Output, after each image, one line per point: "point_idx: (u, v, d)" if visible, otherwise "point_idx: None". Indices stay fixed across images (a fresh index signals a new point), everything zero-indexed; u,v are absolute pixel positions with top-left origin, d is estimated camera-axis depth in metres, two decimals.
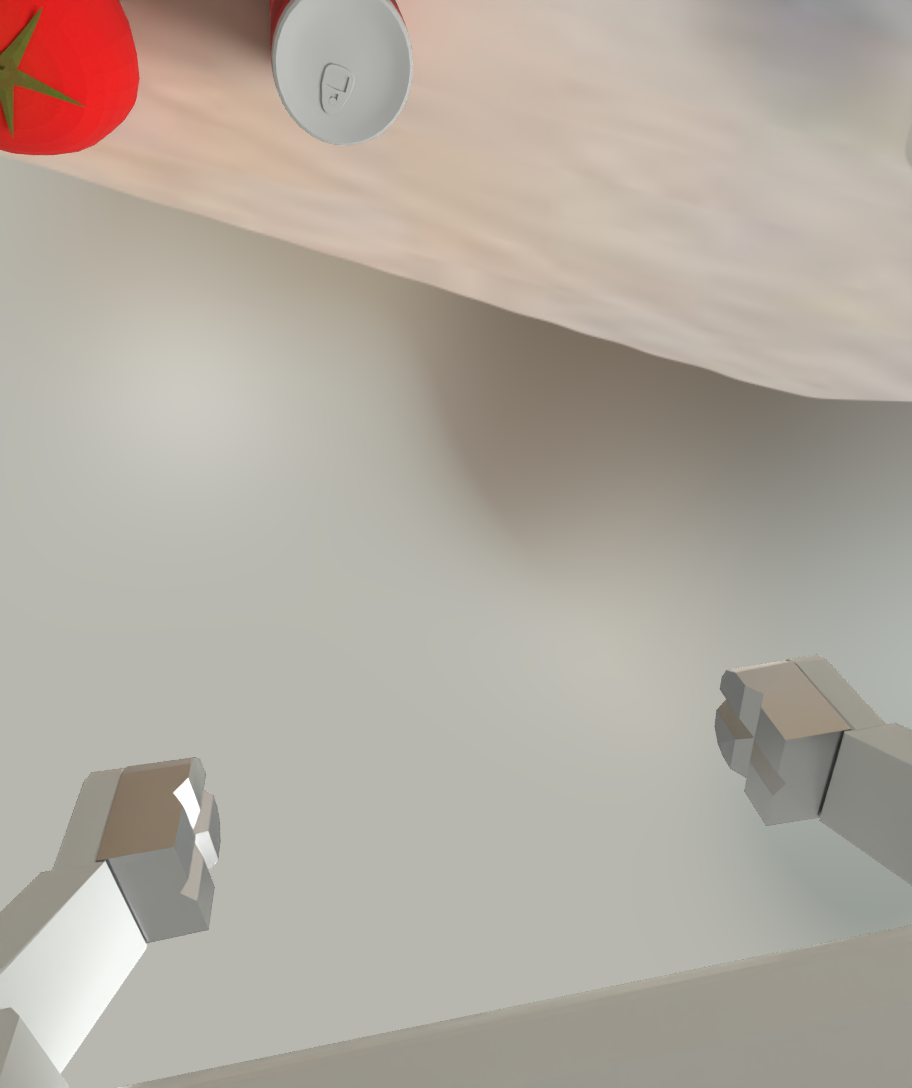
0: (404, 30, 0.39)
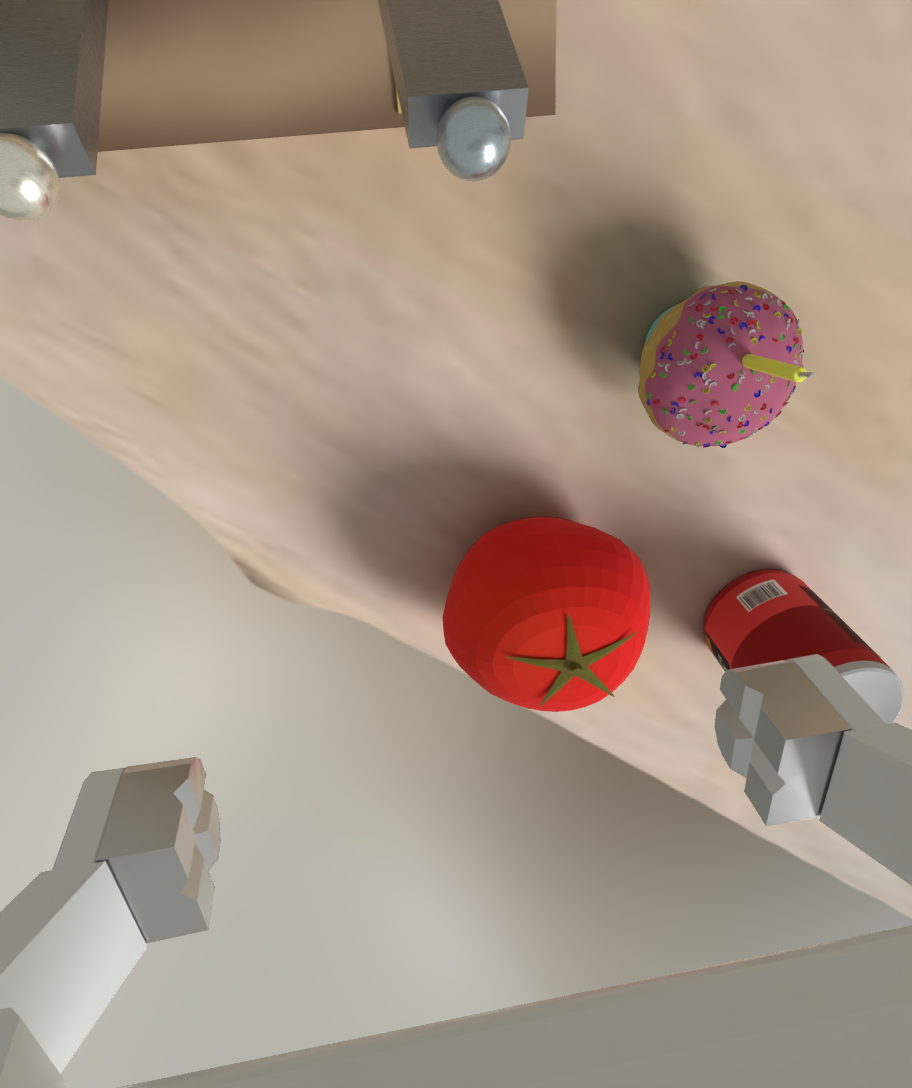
0: (902, 704, 0.44)
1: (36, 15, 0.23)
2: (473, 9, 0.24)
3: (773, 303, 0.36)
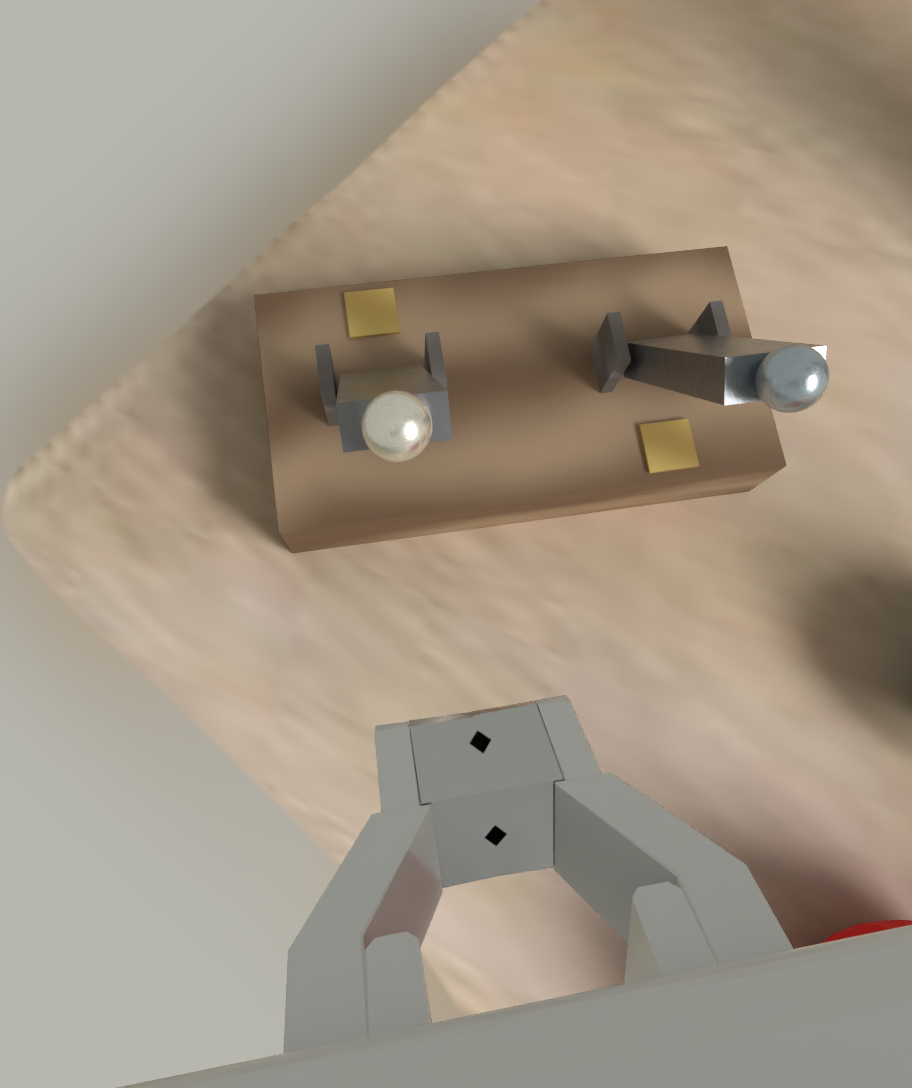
0: None
1: (395, 378, 0.29)
2: (739, 342, 0.29)
3: None
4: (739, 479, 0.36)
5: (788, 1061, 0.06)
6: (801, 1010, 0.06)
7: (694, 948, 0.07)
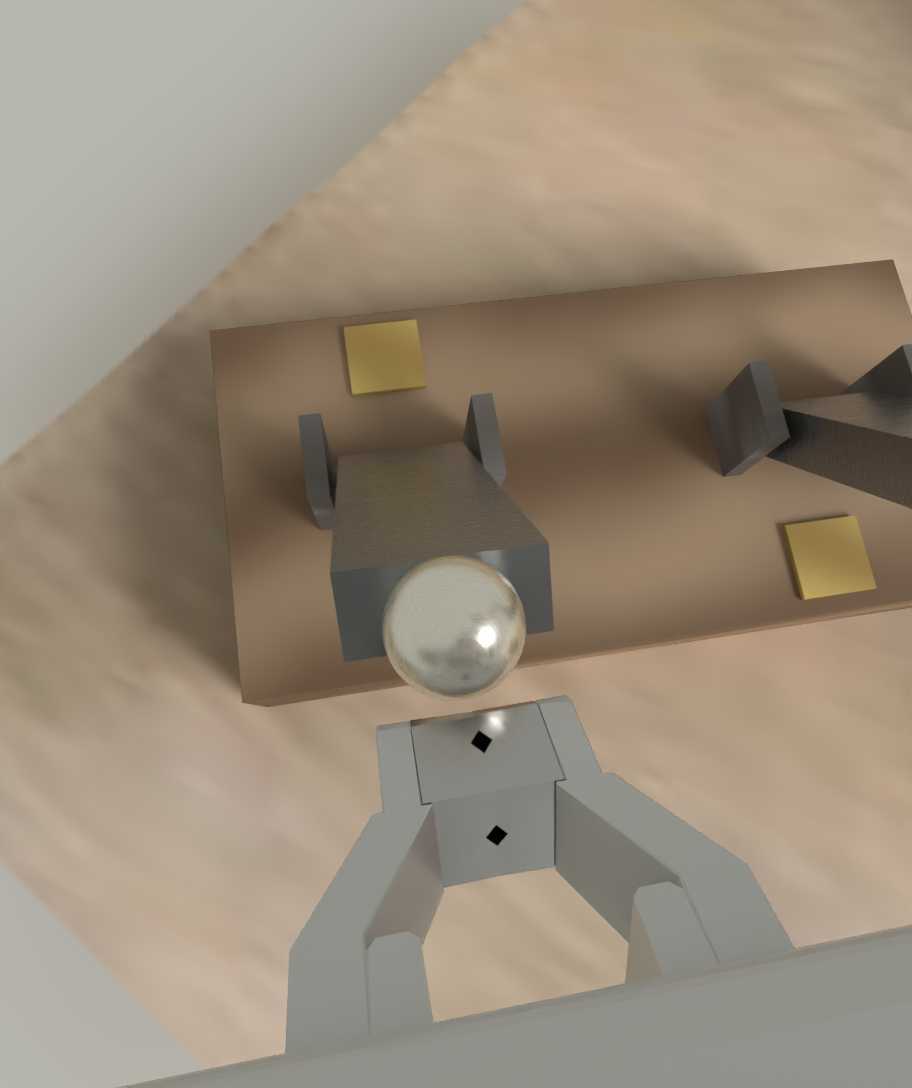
0: None
1: (430, 480, 0.17)
2: None
3: None
4: None
5: (788, 1061, 0.06)
6: (801, 1010, 0.06)
7: (695, 948, 0.07)
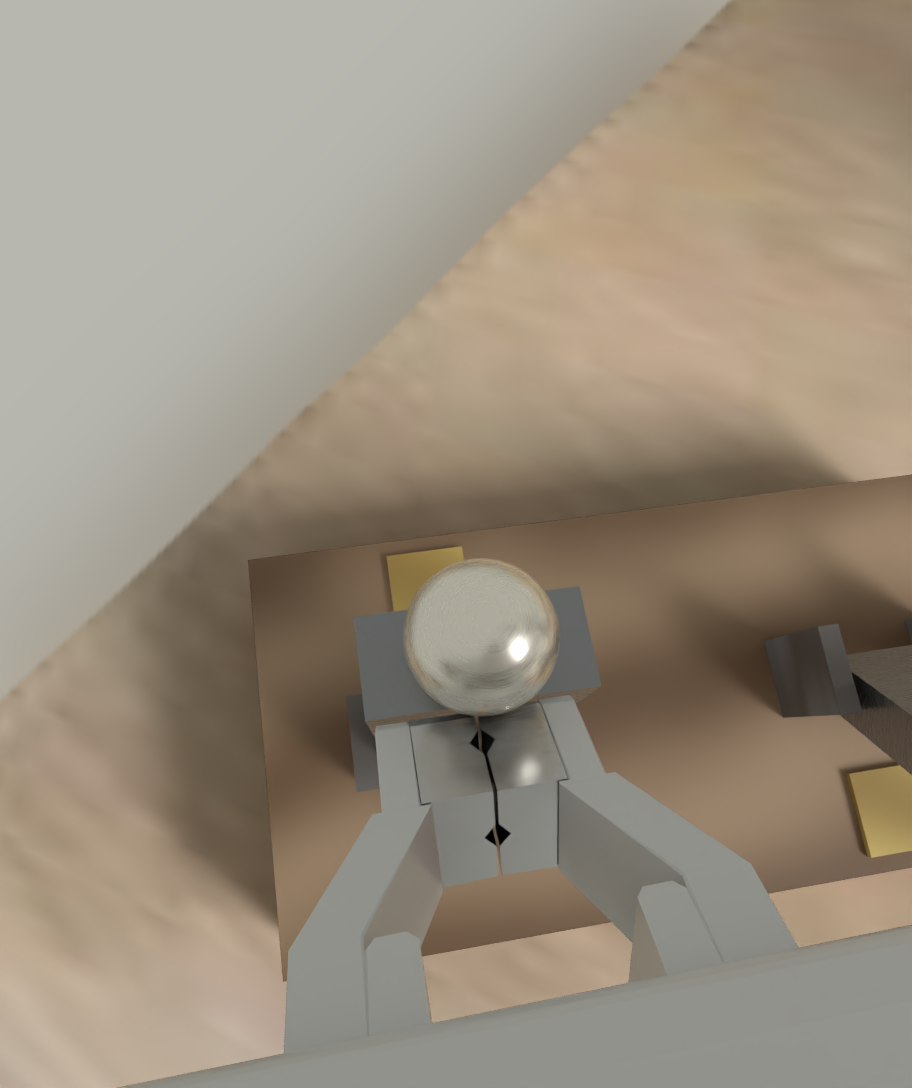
0: None
1: None
2: None
3: None
4: None
5: (788, 1061, 0.06)
6: (801, 1010, 0.06)
7: (699, 947, 0.07)
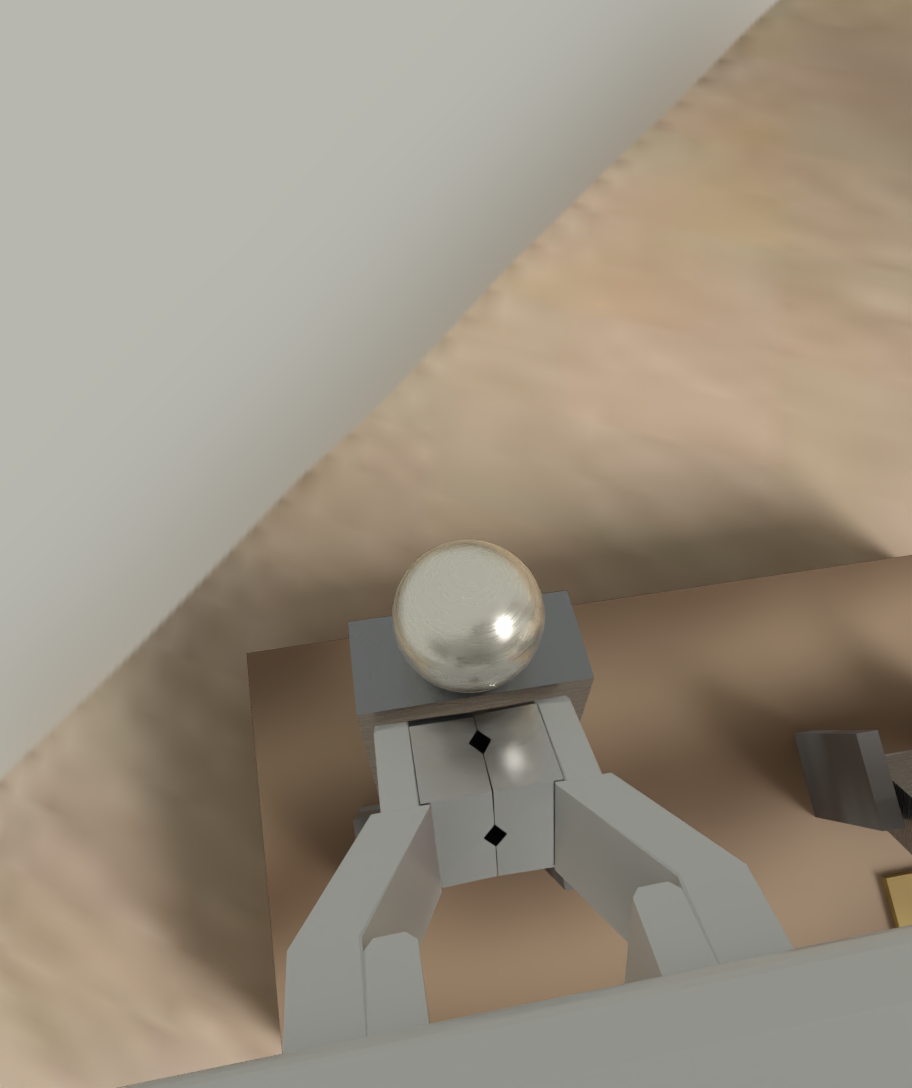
0: None
1: None
2: None
3: None
4: None
5: (788, 1061, 0.06)
6: (801, 1010, 0.06)
7: (694, 948, 0.07)
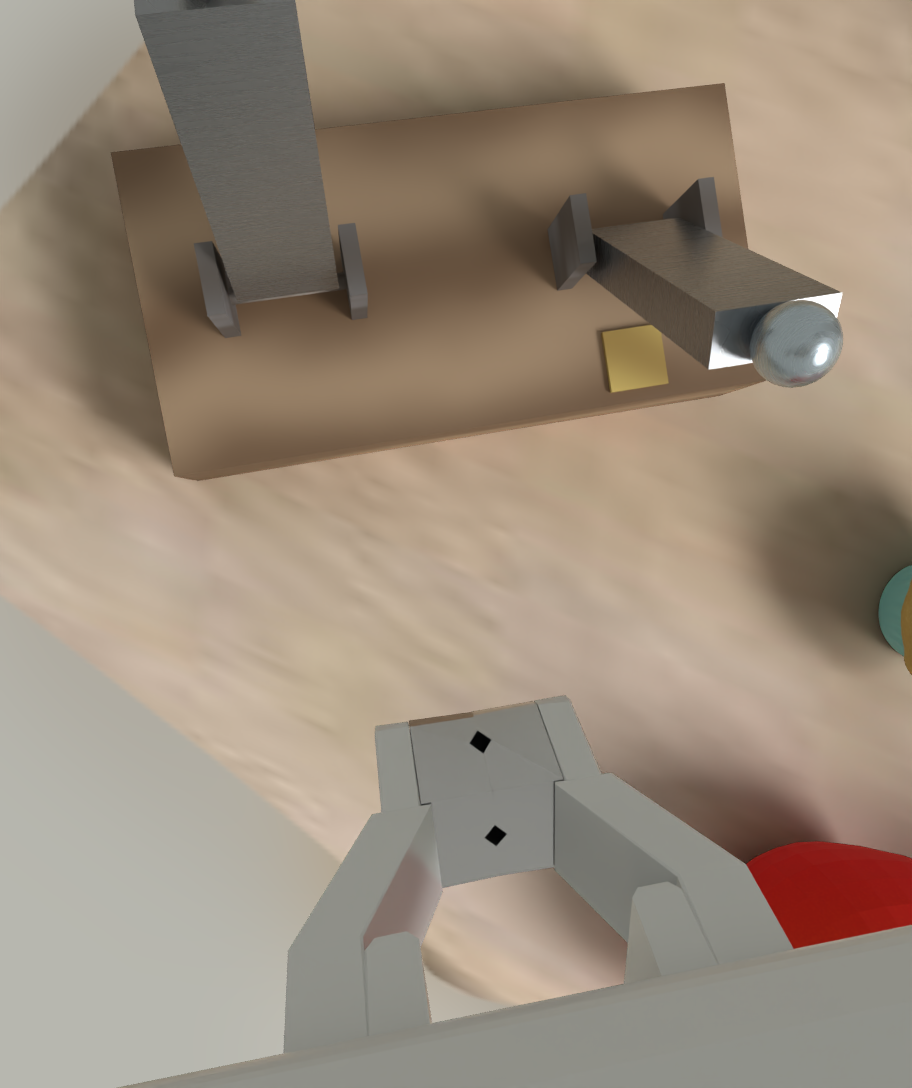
0: None
1: None
2: (732, 258, 0.23)
3: None
4: (712, 391, 0.32)
5: (788, 1061, 0.06)
6: (801, 1010, 0.06)
7: (694, 948, 0.07)
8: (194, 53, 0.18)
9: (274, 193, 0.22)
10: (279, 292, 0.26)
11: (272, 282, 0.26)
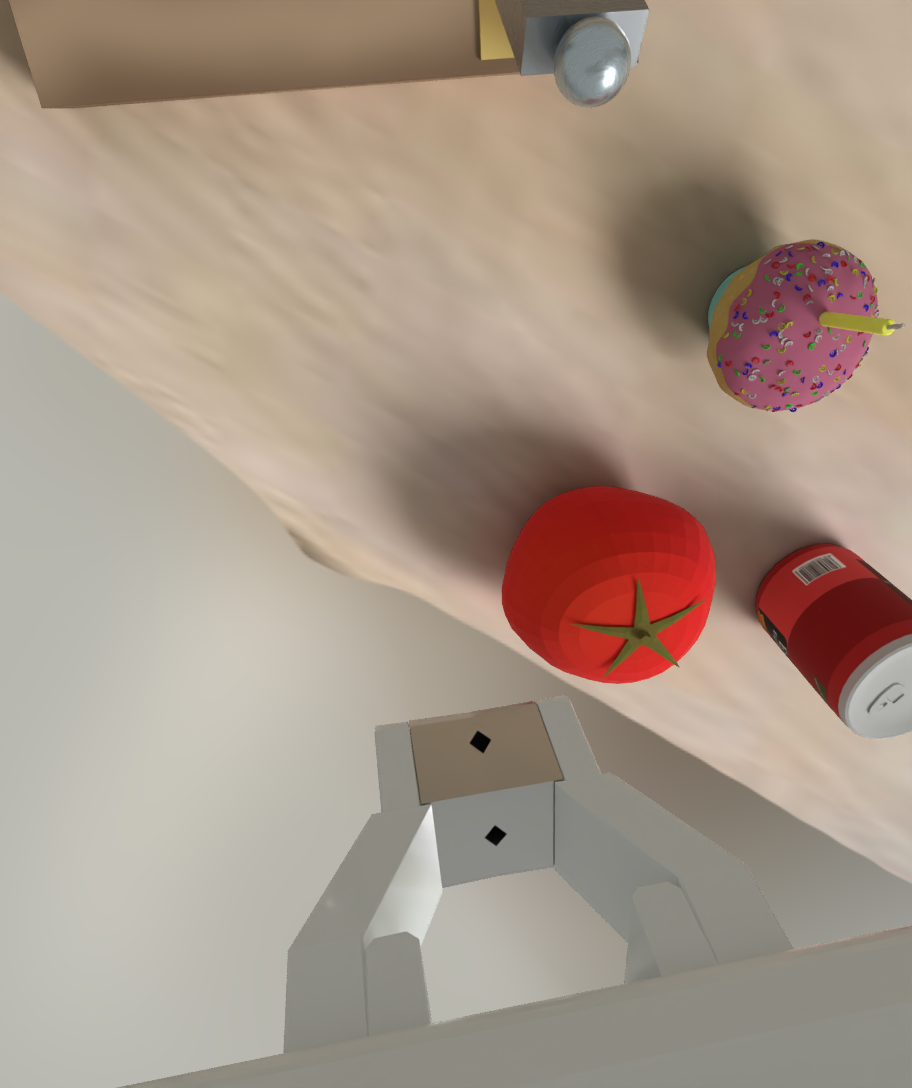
0: None
1: None
2: None
3: (850, 260, 0.35)
4: None
5: (788, 1061, 0.06)
6: (801, 1010, 0.06)
7: (694, 948, 0.07)
8: None
9: None
10: None
11: None
